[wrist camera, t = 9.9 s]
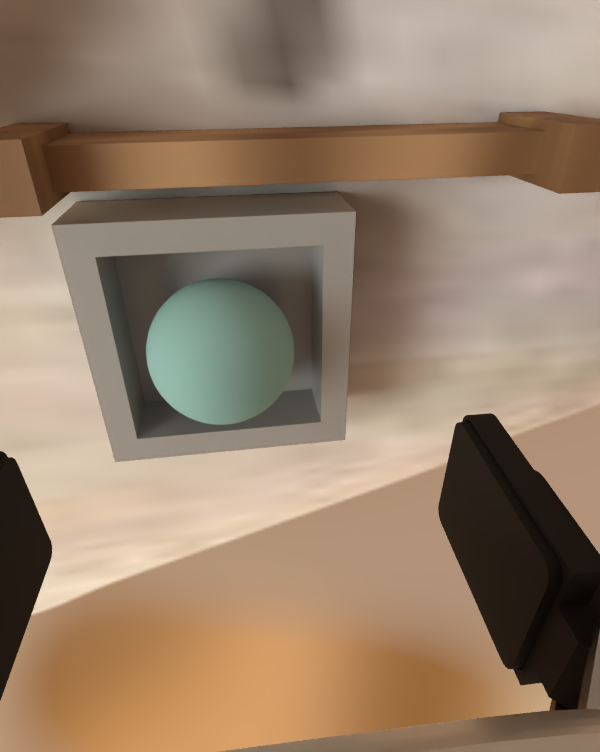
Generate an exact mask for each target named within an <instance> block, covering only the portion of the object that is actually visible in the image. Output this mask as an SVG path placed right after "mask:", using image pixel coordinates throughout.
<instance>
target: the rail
mask: <svg viewBox="0 0 600 752" xmlns="http://www.w3.org/2000/svg"><path fill="white" fill-rule="evenodd" d="M498 175H510V176H513V177H516V178H518V179H521V180H524V181H527V182H529V183H532V184H535V185H537V186H540V187H543V188H546V189H548V190H551V191H554V192H556V193H559V194H561V193H584V192H600V119H595V118H587V117H580V116H572V115H565V114H557V113H550V112H506V113H500V116H499V122H491V123H452V124H413V125H374V126H334V127H295V128H256V129H217V130H178V131H139V132H100V133H70V131H69V126H68V123H35V124H12V125H9V126H5V127H1V128H0V218H1V217H24V216H42V215H43V214H45V213H46V212H47V211H48V210H49V209H51V208H52V207H53V206H54V205H55V204H57V203H58V202H59V201H60V200H61V199H63V198H64V197H65V196H66V195H68V194H69V193H70V192H77V191H104V190H130V189H156V188H182V187H209V186H235V185H261V184H288V183H314V182H340V181H366V180H393V179H419V178H445V177H472V176H498Z"/></svg>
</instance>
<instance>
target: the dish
mask: <svg viewBox="0 0 600 752" xmlns="http://www.w3.org/2000/svg"><path fill="white" fill-rule="evenodd" d="M355 223H356V211H355V210H354V209H353V208H352V207H351V206H350V205H349V204H348V203H347V202H346V201H345V200H344V198H343V197H342V196H341V195H340V194H339V193H338V192H337V191H335V192H310V193H285V194H260V195H235V196H210V197H186V198H161V199H136V200H111V201H86V202H76V203H75V204H74V205H73V206H72V207H70V208H69V209H68V210H67V211H66V212H65V213H64V214H63V215H62V216H61V217H60V218H59V219H58V220H57V221H56V222H54V223H53V224H52V225H51V226H52V229H53V233H54V237H55V240H56V244H57V248H58V251H59V255H60V259H61V263H62V266H63V270H64V274H65V277H66V281H67V285H68V289H69V292H70V296H71V300H72V303H73V307H74V311H75V314H76V318H77V322H78V326H79V329H80V333H81V337H82V340H83V344H84V348H85V352H86V355H87V359H88V363H89V366H90V370H91V374H92V377H93V381H94V385H95V389H96V392H97V396H98V400H99V403H100V407H101V411H102V415H103V418H104V422H105V426H106V429H107V433H108V437H109V440H110V444H111V448H112V452H113V455H114V459H115V462H120V461H130V460H140V459H151V458H161V457H171V456H182V455H192V454H203V453H213V452H223V451H234V450H244V449H254V448H265V447H275V446H286V445H296V444H306V443H317V442H327V441H337V440H345V433H346V412H347V391H348V370H349V349H350V328H351V307H352V286H353V265H354V244H355ZM214 278H226V279H234V280H238V281H241V282H244V283H247V284H249V285H252V286H254V287H256V288H257V289H259V290H261V291H262V292H264V293H265V294H266V295H268V296H269V297H270V298H271V299H272V300H273V301H274V302H275V303H276V304H277V306H278V307H279V308H280V310H281V311H282V312H283V314H284V316H285V317H286V319H287V322H288V324H289V326H290V329H291V332H292V336H293V342H294V362H293V367H292V372H291V375H290V378H289V380H288V382H287V384H286V386H285V388H284V390H283V392H282V393H281V394H280V396H279V397H278V398H277V399H276V400H275V402H274V403H273V404H272V405H271V406H270V407H268V408H267V409H266V410H265V411H263V412H262V413H260V414H258V415H257V416H255V417H252V418H250V419H248V420H245V421H243V422H239V423H235V424H228V425H215V424H207V423H202V422H199V421H196V420H193V419H191V418H189V417H187V416H185V415H183V414H181V413H180V412H178V411H177V410H175V409H174V408H173V407H172V406H171V405H170V404H168V403H167V401H166V400H165V399H164V398H163V397H162V396H161V394H160V393H159V392H158V390H157V388H156V387H155V385H154V383H153V380H152V378H151V376H150V373H149V369H148V365H147V357H146V344H147V338H148V332H149V329H150V326H151V324H152V321H153V319H154V317H155V316H156V314H157V312H158V310H159V309H160V308H161V306H162V305H163V304H164V303H165V302H166V301H167V300H168V299H169V298H170V297H171V296H172V295H173V294H175V293H176V292H177V291H179V290H180V289H182V288H184V287H186V286H187V285H190V284H193V283H195V282H198V281H202V280H206V279H214Z"/></svg>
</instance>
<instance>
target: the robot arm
mask: <svg viewBox="0 0 600 752" xmlns="http://www.w3.org/2000/svg"><path fill="white" fill-rule="evenodd" d="M438 509H439V517H440V521H441V524H442V526H443V528H444V530H445V532H446V535H447V537H448V539H449V542H450V544H451V546H452V549H453V551H454V553H455V556H456V558H457V560H458V562H459V565H460V567H461V569H462V572H463V574H464V576H465V578H466V581H467V583H468V585H469V587H470V590H471V592H472V594H473V597H474V599H475V601H476V603H477V605H478V608H479V610H480V612H481V615H482V617H483V619H484V622H485V624H486V626H487V628H488V631H489V633H490V635H491V638H492V640H493V642H494V644H495V647H496V649H497V651H498V653H499V656H500V658H501V660H502V662H503V664H504V665H505V667H506V668H508V669H514V671H515V674H516V676H517V678H518V680H519V683H520V685H526V684H534V683H542V684H543V686H544V688H545V690H546V692H547V694H548V696H549V697H550V698H551V699H552V701H551V706H550V710H549V711H541V712H532V713H523V714H514V715H505V716H495V717H486V718H477V719H468V720H459V721H451V722H443V723H435V724H428V725H420V726H412V727H404V728H396V729H388V730H381V731H373V732H365V733H358V734H350V735H342V736H334V737H326V738H318V739H311V740H303V741H296V742H289V743H281V744H274V745H266V746H258V747H251V748H243V749H236V750H229V751H222V752H600V554H599V553H598V551H597V550H596V549H595V547H594V546H593V545H592V543H591V542H590V540H589V539H588V538H587V536H586V535H585V534H584V532H583V531H582V529H581V528H580V527H579V525H578V524H577V522H576V521H575V520H574V518H573V517H572V516H571V514H570V513H569V511H568V510H567V509H566V507H565V506H564V505H563V503H562V502H561V500H560V499H559V498H558V496H557V495H556V494H555V492H554V491H553V490H552V488H551V487H550V485H549V484H548V482H547V481H546V480H545V478H544V477H543V476H542V475H541V474H540V473H539V472H537V471H535V470H534V469H533V468H532V466H531V465H530V464H529V462H528V461H527V459H526V458H525V457H524V455H523V454H522V452H521V451H520V450H519V448H518V447H517V445H516V444H515V443H514V441H513V440H512V438H511V437H510V436H509V434H508V433H507V431H506V430H505V429H504V427H503V426H502V424H501V423H500V422H499V420H498V419H497V417H496V416H495V415H494V414H491V413H490V414H477V415H467V416H465V417H464V418H463V421H462V422H459V423H457V424H456V426H455V430H454V435H453V439H452V444H451V449H450V454H449V459H448V463H447V468H446V473H445V478H444V482H443V488H442V492H441V497H440V502H439V508H438ZM51 556H52V544H51V541H50V538H49V536H48V534H47V531H46V529H45V527H44V524H43V522H42V520H41V517H40V515H39V513H38V510H37V508H36V506H35V503H34V501H33V499H32V496H31V494H30V492H29V489H28V487H27V485H26V483H25V480H24V478H23V476H22V473H21V471H20V469H19V466H18V464H17V462H16V460H15V459H14V458H11V457H10V458H8V457H7V455H6V454H5V453H4V452H2V451H0V700H1V697H2V695H3V692H4V689H5V686H6V683H7V680H8V678H9V675H10V672H11V669H12V667H13V664H14V661H15V658H16V655H17V653H18V649H19V647H20V644H21V641H22V639H23V636H24V633H25V630H26V627H27V625H28V622H29V619H30V616H31V613H32V611H33V608H34V605H35V602H36V599H37V597H38V594H39V591H40V588H41V585H42V583H43V580H44V577H45V574H46V571H47V569H48V566H49V563H50V560H51Z"/></svg>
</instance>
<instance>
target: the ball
mask: <svg viewBox="0 0 600 752" xmlns="http://www.w3.org/2000/svg"><path fill="white" fill-rule="evenodd" d="M146 357H147V365H148V369H149V373H150V376H151V378H152V380H153V383H154V385H155V387H156V388H157V390H158V392H159V393H160V394H161V396H162V397H163V398H164V399H165V400H166V401H167V403H168V404H170V405H171V406H172V407H173V408H174V409H175V410H177V411H178V412H180V413H181V414H183V415H185V416H187V417H189V418H191V419H193V420H196V421H199V422H202V423H207V424H215V425H228V424H235V423H239V422H243V421H245V420H248V419H250V418H252V417H255V416H257V415H258V414H260V413H262V412H263V411H265V410H266V409H267V408H268V407H270V406H271V405H272V404H273V403H274V402H275V400H276V399H277V398H278V397H279V396H280V394H281V393H282V392H283V390H284V388H285V386H286V384H287V382H288V380H289V378H290V375H291V372H292V367H293V362H294V342H293V336H292V332H291V329H290V326H289V324H288V322H287V319H286V317H285V316H284V314H283V312H282V311H281V310H280V308H279V307H278V306H277V304H276V303H275V302H274V301H273V300H272V299H271V298H270V297H269V296H268V295H266V294H265V293H264V292H262V291H261V290H259V289H257V288H256V287H254V286H252V285H249V284H247V283H244V282H241V281H238V280H234V279H226V278H214V279H206V280H202V281H198V282H195V283H193V284H190V285H187V286H186V287H184V288H182V289H180V290H179V291H177V292H176V293H175V294H173V295H172V296H171V297H170V298H169V299H168V300H167V301H166V302H165V303H164V304H163V305H162V306H161V308H160V309H159V310H158V312H157V314H156V316H155V317H154V319H153V321H152V324H151V326H150V329H149V332H148V338H147V344H146Z"/></svg>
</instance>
